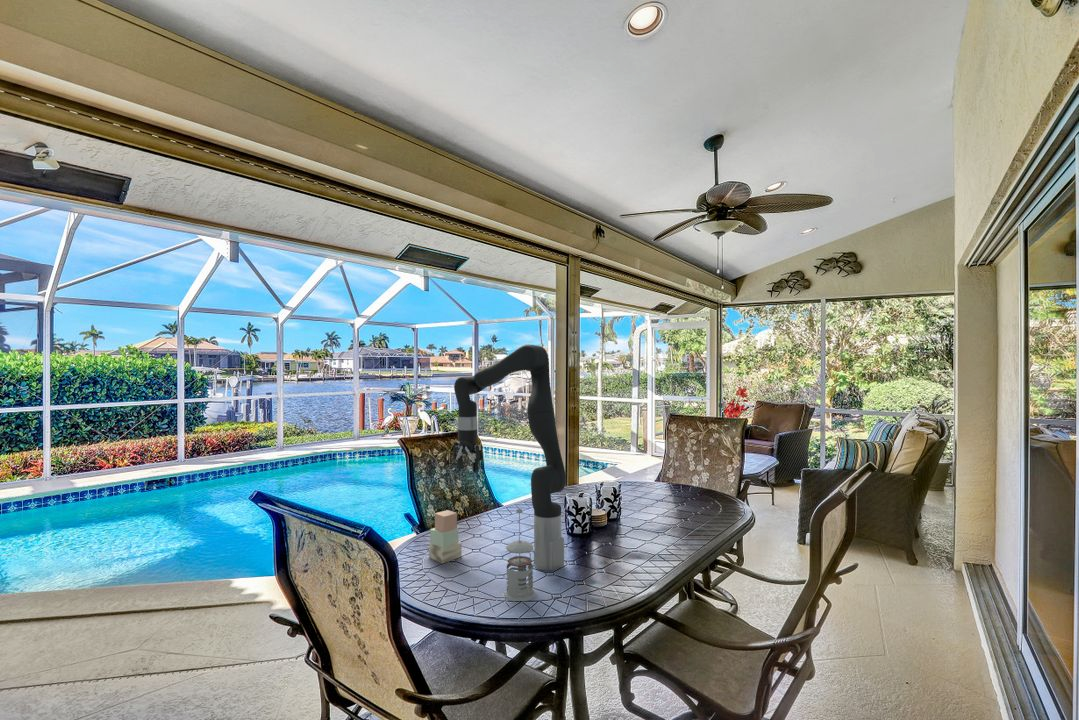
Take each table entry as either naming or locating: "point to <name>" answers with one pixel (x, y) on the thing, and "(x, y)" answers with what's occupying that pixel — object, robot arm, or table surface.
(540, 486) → the robot arm
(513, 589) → the french press
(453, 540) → the sage top block
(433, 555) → the birch base block
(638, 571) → the table surface
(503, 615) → the table surface
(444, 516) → the terracotta block
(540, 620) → the table surface
